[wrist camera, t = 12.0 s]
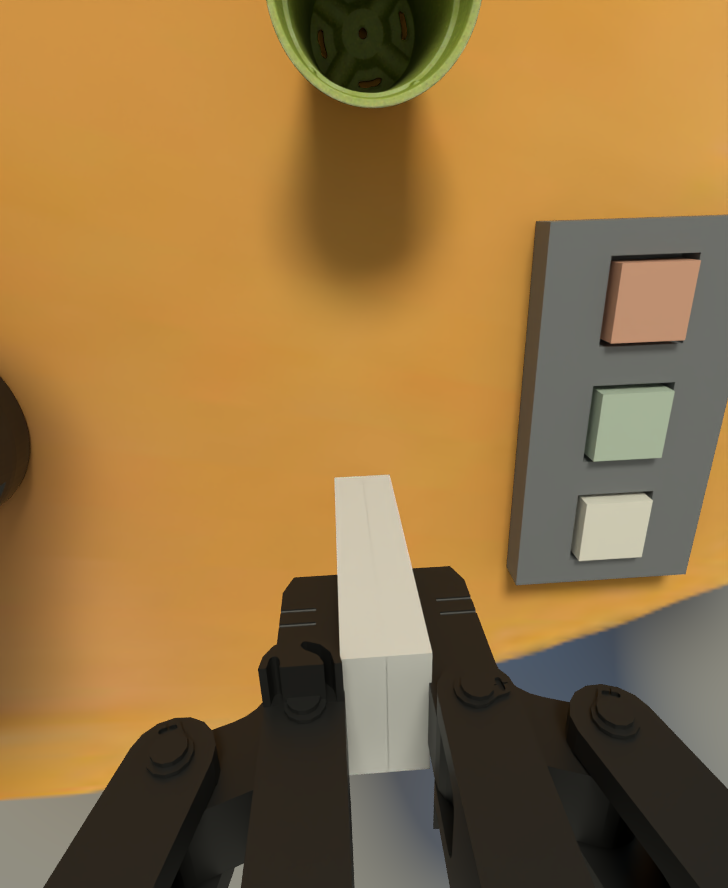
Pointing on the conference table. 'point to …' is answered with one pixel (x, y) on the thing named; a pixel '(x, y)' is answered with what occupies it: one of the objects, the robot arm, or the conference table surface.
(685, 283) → the terracotta button
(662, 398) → the sage button
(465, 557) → the conference table surface
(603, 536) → the cream button
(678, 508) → the button board
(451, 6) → the plant pot
